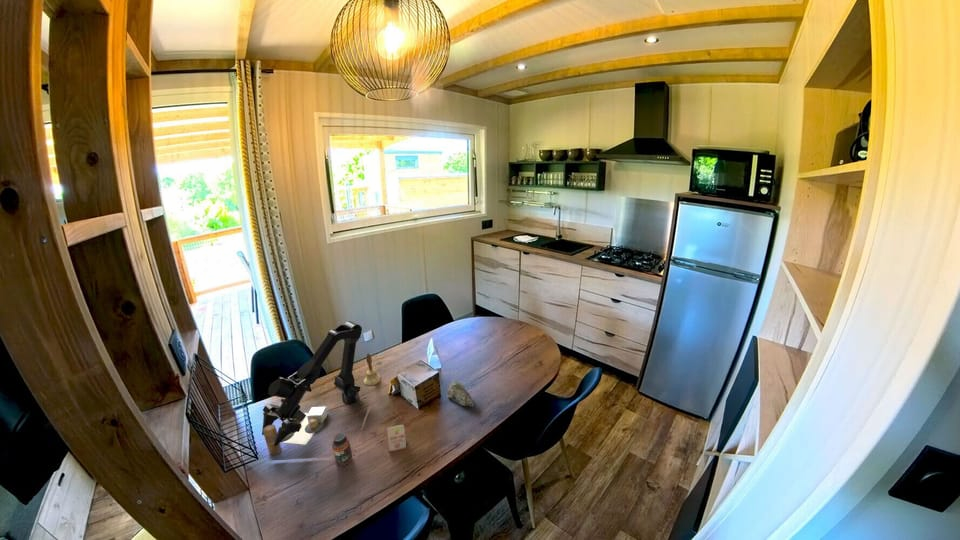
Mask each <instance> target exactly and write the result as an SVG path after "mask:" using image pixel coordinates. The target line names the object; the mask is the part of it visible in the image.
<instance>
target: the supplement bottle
mask: <svg viewBox="0 0 960 540" xmlns="http://www.w3.org/2000/svg"><path fill="white" fill-rule="evenodd" d="M331 446H332V450H333V451H332V452H333V456H334V460H335V464H336V465H337V466H341V467H342V466H346V465H347V464H349V463H350V462H351V460H352V458H353V453H352V446H351V442H350V438H349V437H348V436H346V434H345V432H339V433H336V434H335V435H334V437H333V441H332V443H331Z"/></svg>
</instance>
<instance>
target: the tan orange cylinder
mask: <svg viewBox="0 0 960 540" xmlns="http://www.w3.org/2000/svg"><path fill="white" fill-rule="evenodd" d="M262 429H263V428H262ZM263 433H264V435H263V437H264V439H265V443H266V447H267V450H268V454H269V455H270V456H276V455H278V454H279V453H280V452H281V450H282V447H281V442H280V443H279V444H278V445H277V446H274V442H275V439H276V436H277V433H278V430H277V427H276V425H275V424H272V425H268V426H266V427H265V428H264V429H263Z"/></svg>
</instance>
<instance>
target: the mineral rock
mask: <svg viewBox="0 0 960 540" xmlns="http://www.w3.org/2000/svg"><path fill="white" fill-rule="evenodd" d="M446 395H447V396H446V398H447V399H448V400H452V402H455V403H457V404H459V405H460V406H462V407H464V406H465V407H474V406H475V405H474V400H473V398H472V396H471V394H470V393H469V392H468V391H467V389H465V386H464V385H463V384H462V383H461V382H458V381H457V380H452V381H451V383H450V384H449V387H448V390H447V393H446Z"/></svg>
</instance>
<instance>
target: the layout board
mask: <svg viewBox="0 0 960 540" xmlns="http://www.w3.org/2000/svg"><path fill="white" fill-rule="evenodd" d="M303 413H304V414H305V415H306V417H305V418H304V419H303V420H302V421H301V422H299V420H297V419H291V418H290V419H291V420H297V421H298V422H299V423H301V425H302V427H301V429H300V431H299V432H295V433H291V434H289V435H288V436H286V437H285V438H284V439H283V440H282V441H281V442H280V443H282V444H284V443H285V444H294V445H296V444H297V445H303V446H304V445H305V446H306V445H307V444H308V443H309V441H310V440H311V438H312V437H313V436H314V434H315V433H317V432H320V430H322V429H323V427H324V425H325V424H324V421H323V422H321V423H318V421H317V418H313V419H311V420H310V421H309V423H308V418H307V415H308V413H309V412H303ZM327 416H328V415H327ZM327 416H326V417H325V419H326V418H327Z"/></svg>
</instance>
